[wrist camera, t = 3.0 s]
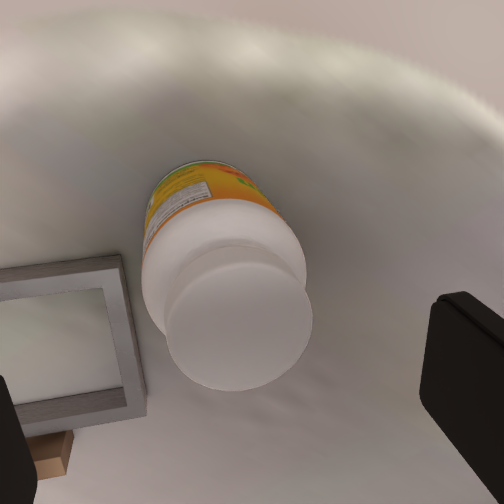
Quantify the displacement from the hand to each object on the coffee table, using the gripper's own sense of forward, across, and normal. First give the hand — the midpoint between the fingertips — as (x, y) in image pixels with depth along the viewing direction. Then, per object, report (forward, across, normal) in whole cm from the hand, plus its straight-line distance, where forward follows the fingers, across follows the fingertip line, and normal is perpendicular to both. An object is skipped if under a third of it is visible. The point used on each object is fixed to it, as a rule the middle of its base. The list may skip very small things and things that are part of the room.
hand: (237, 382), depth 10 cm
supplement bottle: (+12, -1, 0) cm, 12 cm away
